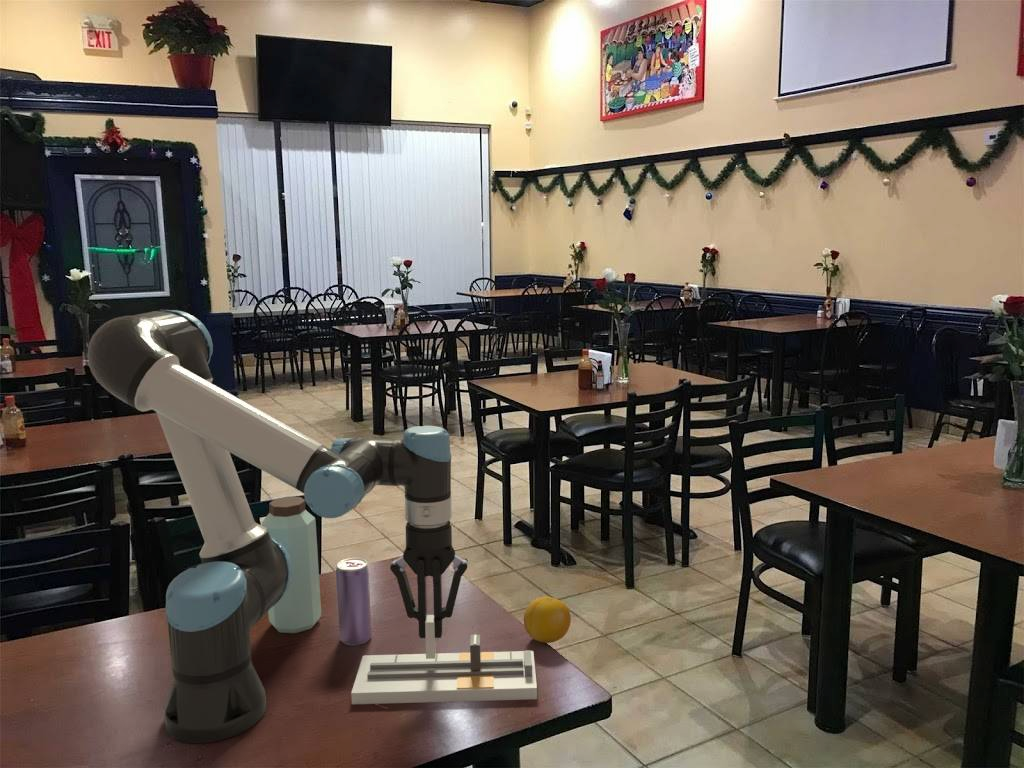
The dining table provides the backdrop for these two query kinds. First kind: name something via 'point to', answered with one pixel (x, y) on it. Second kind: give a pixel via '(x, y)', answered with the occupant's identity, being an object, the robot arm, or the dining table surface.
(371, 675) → the console
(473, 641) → the fader
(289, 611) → the water bottle
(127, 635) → the dining table surface
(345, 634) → the beverage can
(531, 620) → the fruit
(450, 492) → the robot arm
